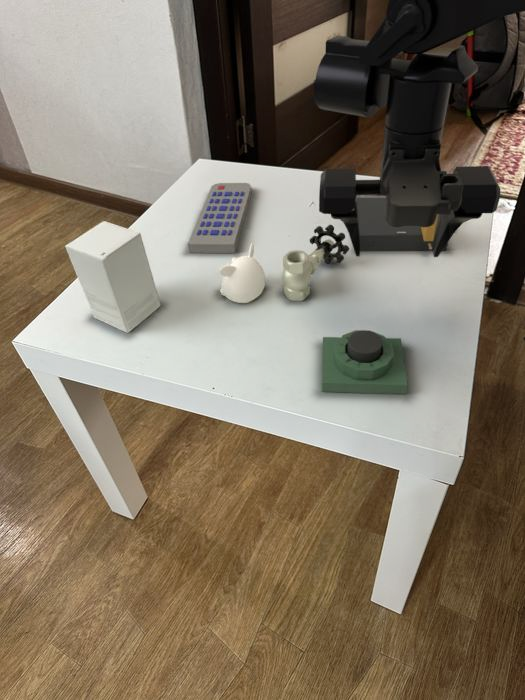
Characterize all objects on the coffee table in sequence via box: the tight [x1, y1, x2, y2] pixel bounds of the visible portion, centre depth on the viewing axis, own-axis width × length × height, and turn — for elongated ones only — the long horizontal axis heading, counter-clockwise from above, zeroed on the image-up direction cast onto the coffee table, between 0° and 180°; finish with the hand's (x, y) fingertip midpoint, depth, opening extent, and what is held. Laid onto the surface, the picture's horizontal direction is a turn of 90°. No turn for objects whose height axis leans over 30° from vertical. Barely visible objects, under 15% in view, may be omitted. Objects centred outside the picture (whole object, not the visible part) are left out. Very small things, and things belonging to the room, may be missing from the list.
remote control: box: [187, 182, 252, 254], centre depth 91 cm, size 8×23×2 cm, turn 173°
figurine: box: [218, 242, 266, 304], centre depth 73 cm, size 8×6×7 cm
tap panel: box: [357, 198, 458, 252], centre depth 83 cm, size 15×18×3 cm
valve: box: [281, 224, 350, 302], centre depth 74 cm, size 7×7×12 cm
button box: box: [321, 329, 409, 395], centre depth 61 cm, size 10×8×4 cm
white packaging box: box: [64, 220, 161, 334], centre depth 70 cm, size 7×7×13 cm
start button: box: [347, 329, 382, 363], centre depth 60 cm, size 4×4×2 cm
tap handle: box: [421, 215, 438, 241], centre depth 77 cm, size 5×1×5 cm, turn 174°
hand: (396, 255), depth 61 cm, fingers open, 9 cm apart
